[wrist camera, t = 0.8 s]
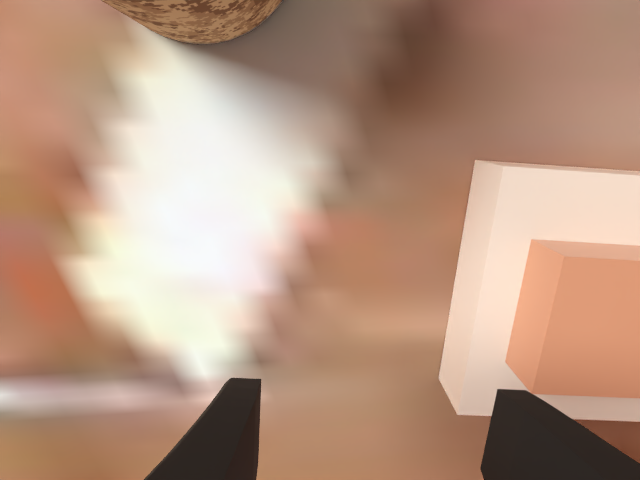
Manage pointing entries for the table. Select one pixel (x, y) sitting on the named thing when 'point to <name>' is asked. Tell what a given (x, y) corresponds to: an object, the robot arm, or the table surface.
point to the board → (509, 265)
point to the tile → (578, 320)
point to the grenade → (198, 17)
